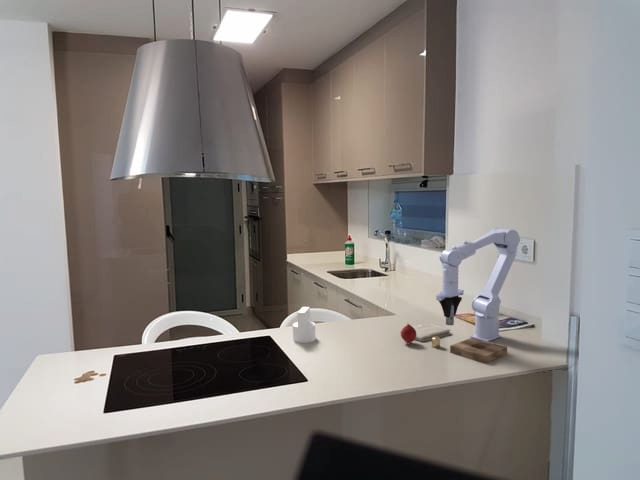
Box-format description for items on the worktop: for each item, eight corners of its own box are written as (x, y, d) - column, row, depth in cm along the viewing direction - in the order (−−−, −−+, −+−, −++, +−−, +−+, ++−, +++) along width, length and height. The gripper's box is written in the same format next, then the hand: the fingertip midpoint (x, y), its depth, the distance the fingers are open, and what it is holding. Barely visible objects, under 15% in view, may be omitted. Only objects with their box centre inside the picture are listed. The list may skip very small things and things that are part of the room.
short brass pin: (435, 344, 170) (435, 336, 169) (441, 346, 167) (441, 337, 167) (430, 346, 168) (430, 337, 168) (436, 348, 166) (436, 339, 165)
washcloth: (452, 334, 183) (452, 327, 182) (421, 343, 173) (421, 336, 172) (429, 327, 192) (430, 320, 192) (399, 336, 182) (399, 328, 182)
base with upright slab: (312, 343, 174) (312, 313, 173) (290, 342, 176) (289, 312, 174) (317, 335, 183) (317, 307, 181) (296, 334, 185) (295, 306, 183)
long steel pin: (448, 322, 174) (449, 302, 173) (455, 324, 171) (455, 303, 170) (444, 324, 172) (444, 303, 171) (450, 325, 170) (450, 305, 169)
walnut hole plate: (472, 343, 170) (472, 337, 170) (507, 353, 159) (507, 347, 159) (450, 352, 162) (450, 345, 161) (485, 363, 151) (485, 356, 150)
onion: (416, 341, 174) (416, 321, 173) (415, 346, 168) (415, 326, 167) (401, 340, 175) (401, 320, 174) (400, 345, 170) (400, 325, 169)
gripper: (452, 277, 177) (452, 310, 179) (429, 282, 168) (429, 317, 170) (468, 279, 172) (467, 314, 173) (445, 285, 163) (444, 321, 164)
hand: (449, 316), depth 171 cm, fingers closed on long steel pin, 3 cm apart
